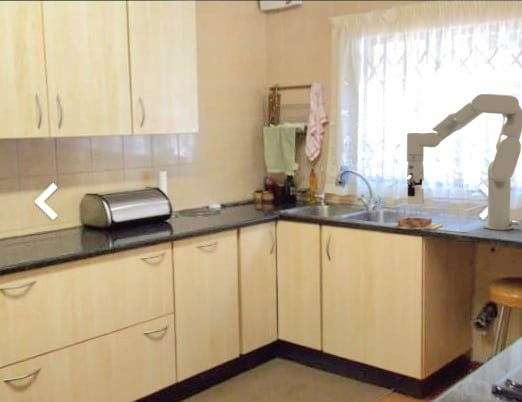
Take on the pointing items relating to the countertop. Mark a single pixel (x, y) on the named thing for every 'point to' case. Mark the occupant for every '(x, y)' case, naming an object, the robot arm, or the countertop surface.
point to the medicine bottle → (417, 194)
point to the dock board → (417, 224)
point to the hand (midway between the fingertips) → (414, 194)
